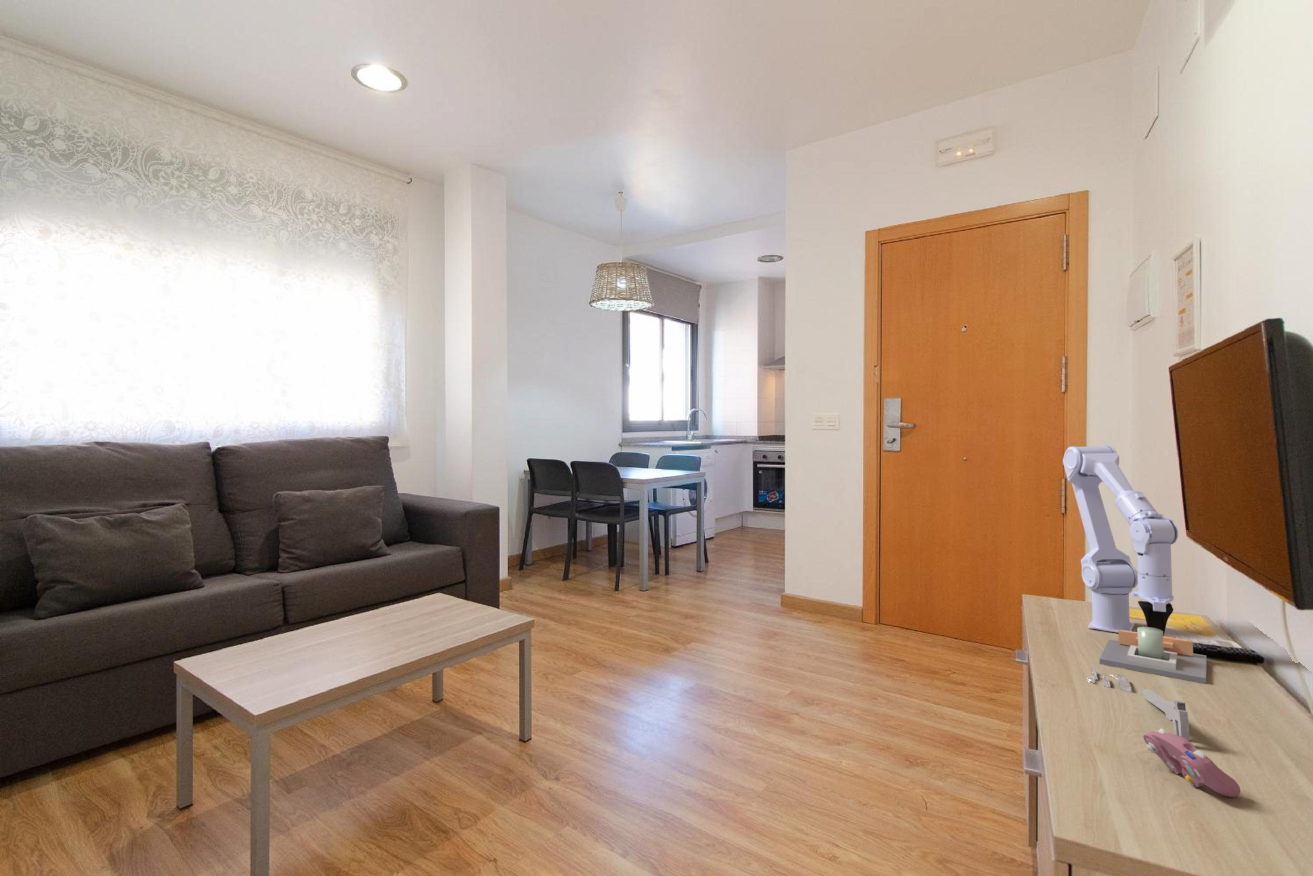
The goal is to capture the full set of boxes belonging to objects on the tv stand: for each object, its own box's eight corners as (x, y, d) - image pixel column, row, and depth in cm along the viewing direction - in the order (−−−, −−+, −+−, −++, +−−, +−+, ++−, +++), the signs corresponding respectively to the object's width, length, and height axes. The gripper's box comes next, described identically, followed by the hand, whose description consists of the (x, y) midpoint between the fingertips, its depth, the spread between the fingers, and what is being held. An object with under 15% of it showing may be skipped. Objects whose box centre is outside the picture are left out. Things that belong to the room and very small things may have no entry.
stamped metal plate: (1131, 695, 109) (1131, 687, 109) (1084, 688, 113) (1084, 680, 113) (1125, 680, 116) (1125, 672, 116) (1081, 673, 119) (1081, 666, 119)
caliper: (1190, 748, 90) (1189, 706, 90) (1181, 747, 90) (1179, 705, 90) (1147, 694, 108) (1146, 660, 108) (1139, 693, 109) (1139, 659, 109)
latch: (1119, 642, 131) (1119, 629, 131) (1193, 654, 123) (1192, 640, 123) (1118, 645, 129) (1117, 632, 129) (1192, 657, 121) (1192, 644, 121)
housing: (1109, 644, 133) (1108, 634, 134) (1206, 660, 123) (1206, 649, 123) (1099, 663, 122) (1099, 653, 122) (1206, 683, 112) (1205, 672, 112)
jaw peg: (1138, 654, 124) (1137, 625, 124) (1164, 658, 122) (1162, 629, 122) (1138, 660, 121) (1137, 631, 121) (1164, 664, 118) (1163, 634, 118)
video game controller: (1153, 770, 87) (1130, 727, 87) (1181, 756, 87) (1158, 713, 87) (1216, 813, 77) (1190, 765, 77) (1248, 796, 77) (1222, 748, 77)
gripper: (1127, 565, 138) (1129, 625, 138) (1134, 578, 126) (1136, 643, 126) (1167, 568, 134) (1169, 629, 134) (1178, 582, 122) (1180, 649, 122)
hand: (1156, 636), depth 130 cm, fingers closed
